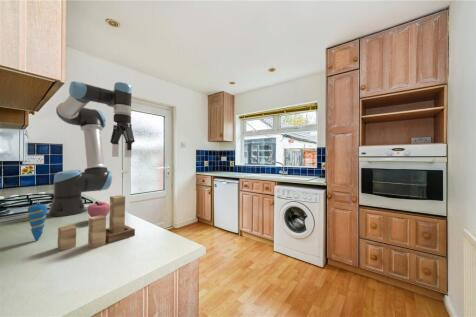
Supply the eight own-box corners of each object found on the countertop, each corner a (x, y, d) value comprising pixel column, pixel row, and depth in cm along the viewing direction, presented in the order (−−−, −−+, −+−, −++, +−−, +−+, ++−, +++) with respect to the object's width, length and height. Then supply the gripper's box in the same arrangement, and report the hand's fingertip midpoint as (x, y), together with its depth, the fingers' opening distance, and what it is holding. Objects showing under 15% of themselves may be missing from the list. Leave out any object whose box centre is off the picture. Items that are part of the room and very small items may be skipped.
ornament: (24, 244, 70) (25, 202, 70) (29, 239, 75) (30, 199, 75) (44, 241, 73) (45, 201, 73) (48, 236, 78) (49, 198, 78)
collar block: (98, 236, 79) (98, 230, 79) (123, 230, 86) (123, 224, 86) (108, 243, 73) (109, 236, 73) (134, 235, 81) (134, 229, 81)
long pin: (109, 236, 79) (110, 196, 79) (119, 233, 83) (120, 195, 83) (113, 238, 77) (114, 197, 77) (124, 235, 80) (125, 196, 80)
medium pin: (88, 245, 71) (88, 217, 71) (100, 241, 74) (101, 215, 74) (92, 248, 69) (93, 219, 69) (105, 244, 72) (106, 217, 72)
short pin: (57, 247, 69) (57, 227, 69) (72, 243, 72) (72, 224, 72) (61, 250, 67) (61, 230, 67) (75, 246, 70) (76, 226, 70)
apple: (110, 221, 98) (111, 200, 98) (89, 225, 92) (89, 203, 92) (106, 216, 104) (106, 197, 104) (85, 220, 98) (86, 200, 98)
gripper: (103, 115, 104) (102, 156, 104) (126, 110, 89) (125, 157, 89) (118, 118, 110) (118, 156, 110) (143, 113, 95) (142, 157, 95)
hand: (121, 157), depth 100 cm, fingers open, 13 cm apart
